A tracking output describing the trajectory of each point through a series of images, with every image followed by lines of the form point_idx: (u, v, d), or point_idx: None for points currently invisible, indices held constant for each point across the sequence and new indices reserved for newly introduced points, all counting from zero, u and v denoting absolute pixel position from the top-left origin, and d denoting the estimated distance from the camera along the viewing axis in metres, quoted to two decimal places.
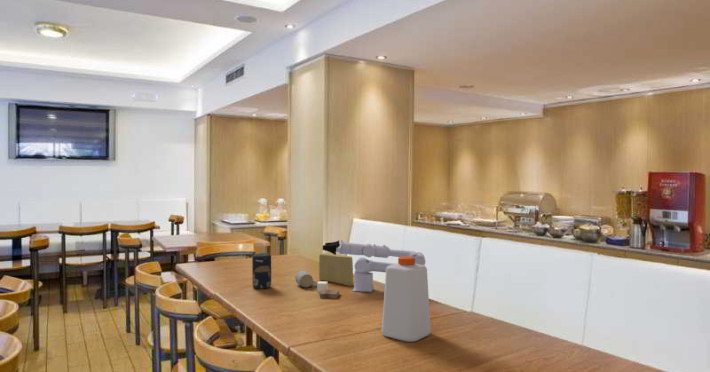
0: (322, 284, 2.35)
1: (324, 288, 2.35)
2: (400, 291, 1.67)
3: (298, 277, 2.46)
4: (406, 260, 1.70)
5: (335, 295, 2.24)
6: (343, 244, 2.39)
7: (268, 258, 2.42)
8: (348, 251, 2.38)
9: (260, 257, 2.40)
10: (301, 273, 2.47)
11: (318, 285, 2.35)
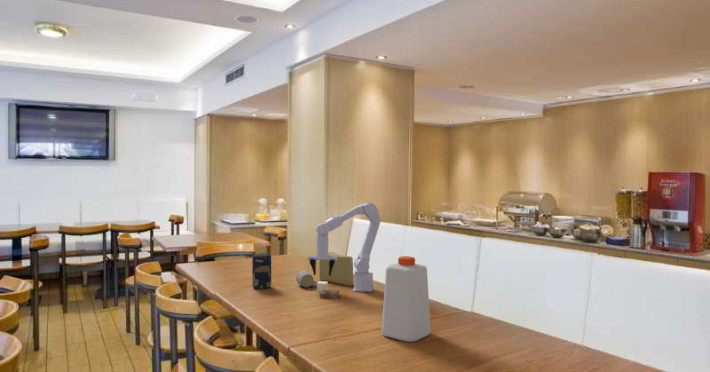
0: (322, 284, 2.35)
1: (324, 288, 2.35)
2: (400, 291, 1.67)
3: (299, 277, 2.46)
4: (406, 260, 1.70)
5: (335, 295, 2.24)
6: (325, 255, 2.35)
7: (268, 258, 2.42)
8: None
9: (260, 257, 2.40)
10: (302, 273, 2.47)
11: (318, 285, 2.35)
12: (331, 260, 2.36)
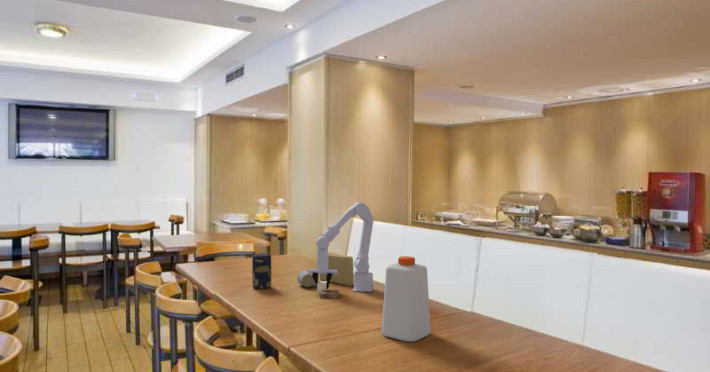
0: (322, 284, 2.35)
1: (324, 288, 2.35)
2: (400, 291, 1.67)
3: (300, 277, 2.46)
4: (406, 260, 1.70)
5: (335, 295, 2.23)
6: (325, 269, 2.35)
7: (268, 258, 2.42)
8: None
9: (260, 257, 2.40)
10: (303, 273, 2.47)
11: (318, 285, 2.35)
12: (331, 273, 2.36)
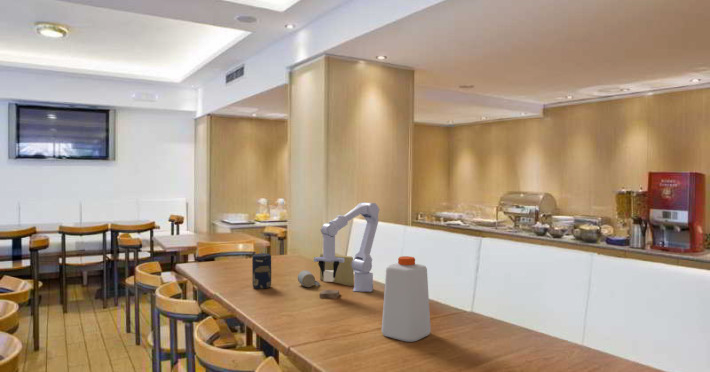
0: (329, 273, 2.26)
1: (331, 277, 2.26)
2: (400, 291, 1.67)
3: (300, 277, 2.46)
4: (406, 260, 1.70)
5: (335, 295, 2.23)
6: (332, 257, 2.26)
7: (268, 258, 2.42)
8: None
9: (260, 257, 2.40)
10: (303, 273, 2.47)
11: (324, 274, 2.27)
12: (338, 262, 2.27)
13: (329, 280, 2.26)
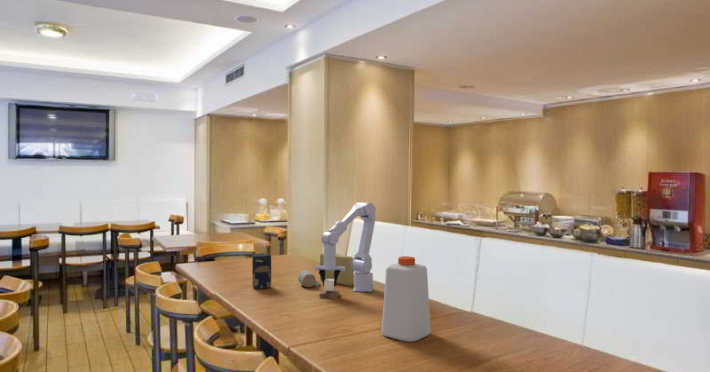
0: (329, 282, 2.26)
1: (331, 286, 2.26)
2: (400, 291, 1.67)
3: (301, 277, 2.46)
4: (406, 260, 1.70)
5: (335, 295, 2.23)
6: (332, 265, 2.25)
7: (268, 258, 2.42)
8: None
9: (260, 257, 2.40)
10: (304, 273, 2.47)
11: (325, 283, 2.26)
12: (339, 270, 2.26)
13: (330, 289, 2.26)
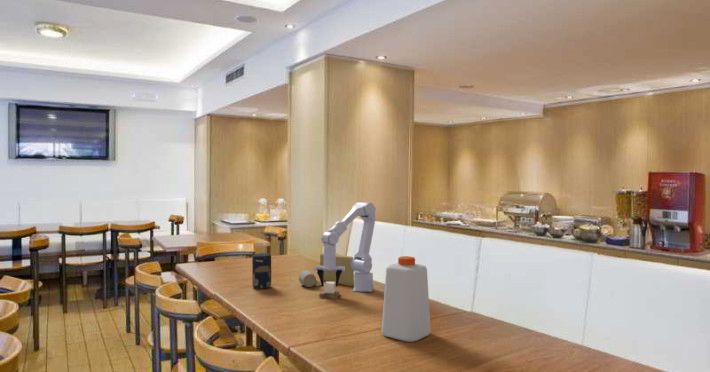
0: (330, 284, 2.26)
1: (332, 288, 2.25)
2: (400, 291, 1.67)
3: (301, 277, 2.46)
4: (406, 260, 1.70)
5: (334, 295, 2.23)
6: (332, 265, 2.25)
7: (268, 258, 2.42)
8: None
9: (260, 257, 2.40)
10: (304, 273, 2.47)
11: (325, 285, 2.26)
12: (339, 270, 2.26)
13: (330, 292, 2.26)
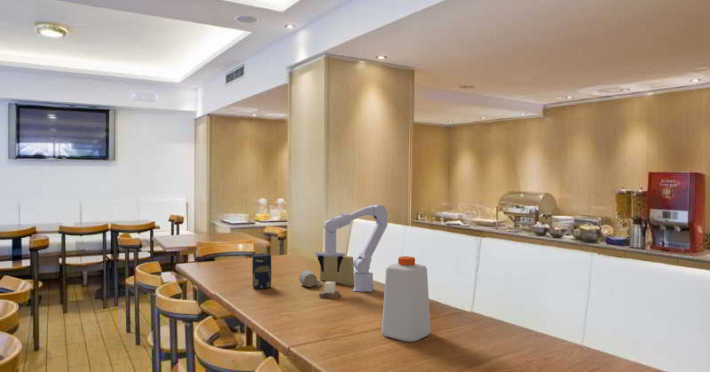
0: (330, 284, 2.25)
1: (332, 288, 2.25)
2: (400, 291, 1.67)
3: (302, 277, 2.47)
4: (406, 260, 1.70)
5: (334, 295, 2.23)
6: (333, 252, 2.34)
7: (268, 258, 2.42)
8: None
9: (260, 257, 2.40)
10: (305, 273, 2.47)
11: (326, 285, 2.26)
12: (339, 256, 2.35)
13: (330, 292, 2.25)
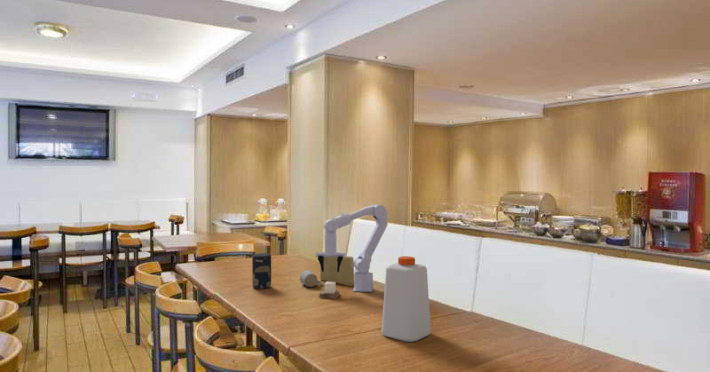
0: (330, 284, 2.25)
1: (332, 289, 2.25)
2: (400, 291, 1.67)
3: (303, 277, 2.47)
4: (406, 260, 1.70)
5: (334, 295, 2.23)
6: (333, 252, 2.34)
7: (268, 258, 2.42)
8: None
9: (260, 257, 2.40)
10: (306, 273, 2.48)
11: (326, 285, 2.25)
12: (339, 256, 2.35)
13: (330, 292, 2.25)
